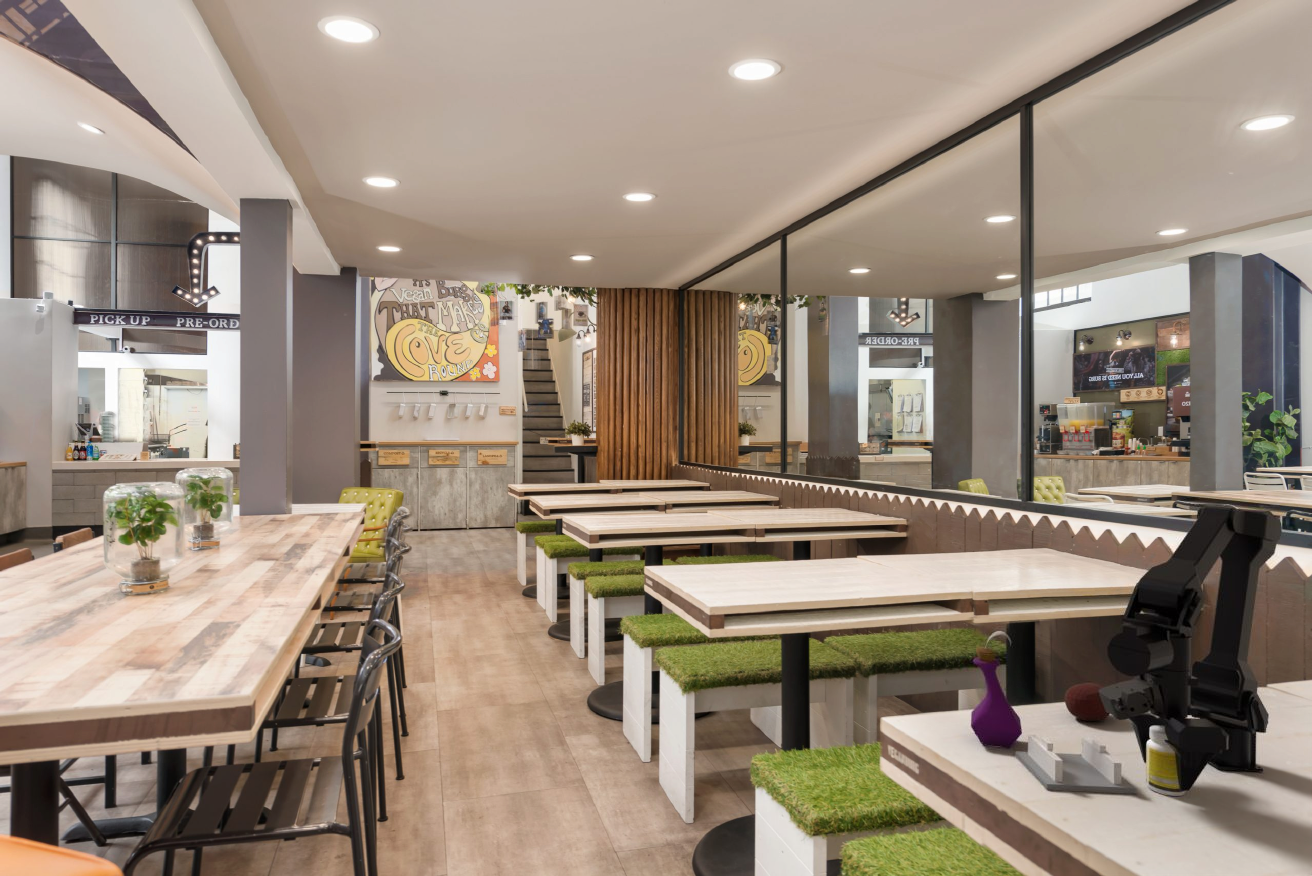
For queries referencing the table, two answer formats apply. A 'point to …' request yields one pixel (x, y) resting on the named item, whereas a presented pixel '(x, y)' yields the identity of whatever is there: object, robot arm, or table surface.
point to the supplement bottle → (1161, 764)
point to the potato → (1085, 702)
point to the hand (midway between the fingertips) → (1165, 776)
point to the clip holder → (1075, 767)
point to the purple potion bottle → (994, 705)
